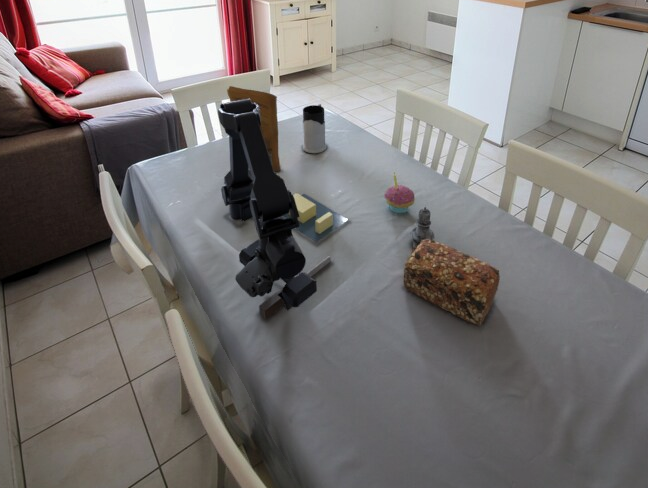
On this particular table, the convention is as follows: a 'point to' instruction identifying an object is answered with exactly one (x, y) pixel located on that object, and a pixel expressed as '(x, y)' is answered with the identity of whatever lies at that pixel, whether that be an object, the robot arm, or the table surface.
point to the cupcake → (399, 197)
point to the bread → (451, 280)
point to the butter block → (304, 208)
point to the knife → (275, 301)
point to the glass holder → (314, 129)
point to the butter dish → (321, 210)
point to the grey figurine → (422, 228)
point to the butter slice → (324, 222)
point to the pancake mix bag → (263, 118)
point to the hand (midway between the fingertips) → (278, 300)
